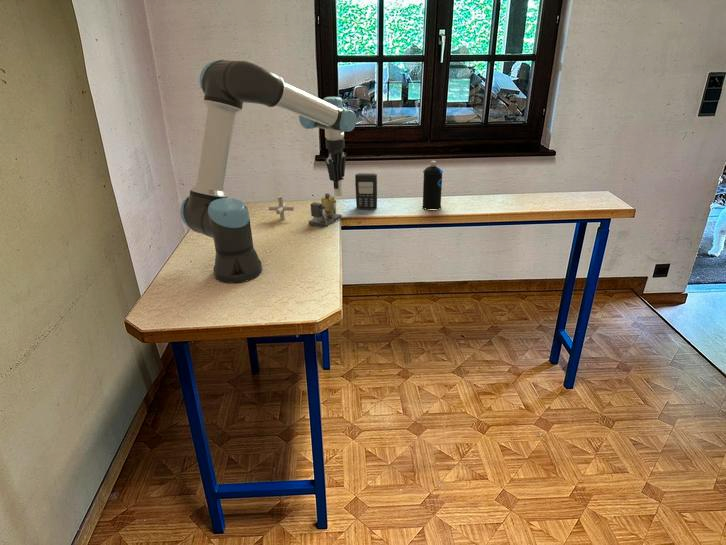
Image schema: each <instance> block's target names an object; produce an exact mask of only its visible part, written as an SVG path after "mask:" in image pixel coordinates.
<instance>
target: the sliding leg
mask: <svg viewBox="0 0 726 545" xmlns="http://www.w3.org/2000/svg"><path fill="white" fill-rule="evenodd" d="M320 199H321V200H320V201H321V202H320V203H321V204H322V206H325V210H326V211H328V213H329V215H331V214H333V213H334V214H337V200H336V199H335V196H331V193H327V192H325V194H324V196H323V197H321V198H320Z"/></svg>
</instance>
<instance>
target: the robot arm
mask: <svg viewBox="0 0 726 545" xmlns="http://www.w3.org/2000/svg"><path fill="white" fill-rule="evenodd" d="M199 86H200V88H201V91H202V93H203V94H204V97H203V103H204V104H205V106H206V108H207V111H206V118H205V123H204V131H203V138H202V143H201V151H200V157H199V158H200V159H199V165H198V170H197V177H196V183H195V185H194V186H192V187H191V188H190V189H189V195H188V196H187V197H186V198H185V199H184V200H183V201H182V203H181V205H180V210H179V211H180V212H179V214H180V218H181V220H182V222H183V224H184V225H185V226H186V227H187V228H188V229H190V230H192V231H193V232H196V233H198V234H202V235H205V236H206V237H209V238H212V239H213V243H214V249H215V257H214V258H215V259H214V266H213V277H214V278H215V279H216V280H217V281H218V280H219V281H218V282H221V281H223V282H222V283H225V282H230V283H229V284H232V283H231V282H239V283H244V282H243V281H245V282H247V281H246V280H248V281H250V279H251V280H253V279H255V278H257V277H258V276H260V275H261V274H260V273H262V272H263V266H262V261H261V260H260V258H259V255H258V254H257V252H256V249H255V248H254V247H255V246H254V241H253V234H252V226H251V220H250V219H251V215H250V213H249V212H250V211H249V209H248V206H247V204H246V203H245V202H244V201H243V200H240V199H237V198H229V197H228V194H227V193H226V191H225V186H226V180H227V173H228V167H229V160H230V154H231V148H232V143H233V142H232V141H233V135H234V129H235V124H236V118H237V115H238V114H240V113H241V112H243V106H244V103H247V104H248V103H249V104H255V105H256V104H257V105H263V106H266V107H268V108H274V107H278V108H279V109H281V110H282V109H283V110H285V111H287V112H290V113H292V114H295V115H297V116H298V118H299V124H300V125H301V126H302V127H303V128H304V129H305V130H310V129H311V130H313V129H315V128H316V129H317V128H318V129H323V130H324V138H325V148H326V149H327V150H328V155H327V156H328V157H327V158H325V159H324V162H325V164H326V167H327V168H326V169H327V173H328V177H329V180H330V181H332V182H333V189H334V190H333V192H334V197H342V196H343V191H342V188H343V187H342V181H343V180H344V179H345V178H344V177H345V169H346V158H347V155H348V154H347V152H344V149H345V147H346V145H345V138H344V137H345V132H351V131H353V130H354V129H355V127H356V125H357V115H356V113H355V112H354V110H351V109H348V108H344V106H343V100H342V97H340V96H326V97H324V98H323V99H321V98H320V97H317V96H314V95H313V94H310V93H308V92H307V91H305V90H302V89H300V88H297V87H295V86H294V85H291V84H289V83H287V82H284V79H283V78H282V77H281V75H278V74H276V73H274V72H271V71H270V70H268V69H265V68H264V67H262V66H259V65H257V64H255V63H252V62H250V61H245V60H227V59H217V60H213V61H210V62H208V63H207V64H206V65H205V66H204V67H203V68H202V70H201V72H200V75H199ZM259 274H260V275H259ZM256 276H257V277H256ZM252 278H253V279H252Z"/></svg>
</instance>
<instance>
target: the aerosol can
mask: <svg viewBox="0 0 726 545" xmlns="http://www.w3.org/2000/svg"><path fill="white" fill-rule="evenodd" d="M436 163H437V161H436V160H431V161H430V166H428V167H426V168H425V169H423V171H422V172H423V186H422V188H423V190H422V206H421V207H423V208H426V209H439V208H440V209H442V206H441V204H442V189H443V188H442V187H443V173H444V171H443V170H442V168H441V167H439V166H437V165H436ZM423 208H422V209H423ZM440 209H439V210H440Z"/></svg>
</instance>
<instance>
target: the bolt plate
mask: <svg viewBox="0 0 726 545" xmlns="http://www.w3.org/2000/svg"><path fill="white" fill-rule="evenodd" d="M310 216H311V217H313V218H311V219H310V220H308V225H309V226H314V227H320V228H324V227H326V228H328V227H329V226H331V225H333V224H334V223H336V222H337V221H336V220H338V219H339V220H341V219H342V218H341V217H342V214H339V213H336V214H334V213H333V214H331V215H329V213H328V211H326V210H325V206H322V204H321V202H312V203H310ZM340 218H341V219H340ZM339 220H338V221H339ZM335 221H336V222H335ZM333 222H334V223H333ZM332 223H333V224H332ZM330 224H331V225H330ZM328 225H329V226H328Z"/></svg>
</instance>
